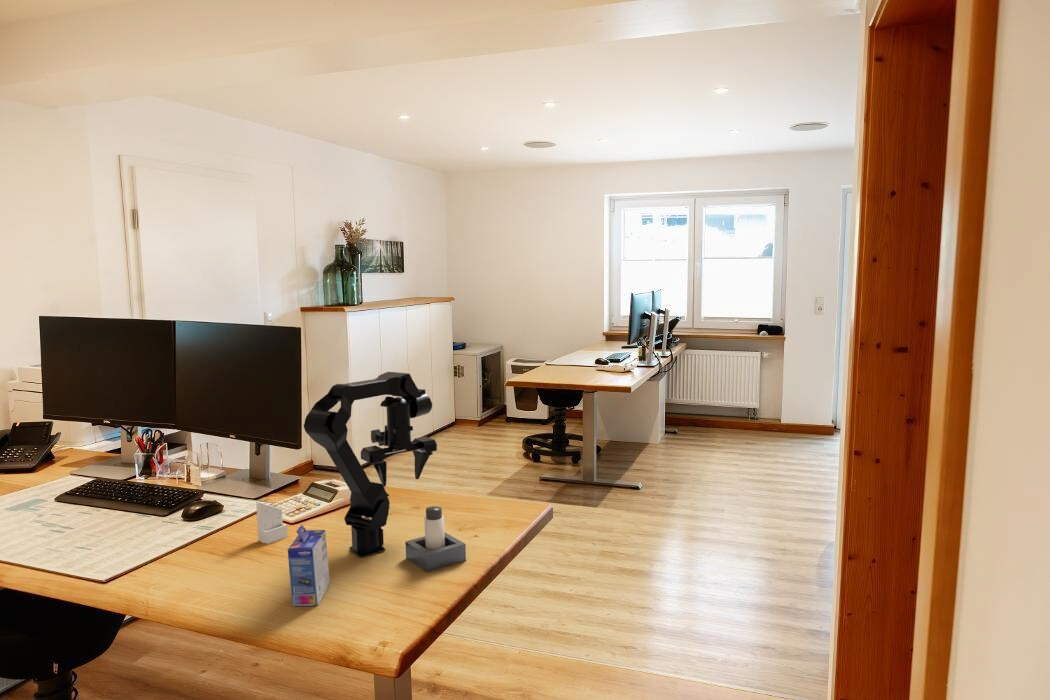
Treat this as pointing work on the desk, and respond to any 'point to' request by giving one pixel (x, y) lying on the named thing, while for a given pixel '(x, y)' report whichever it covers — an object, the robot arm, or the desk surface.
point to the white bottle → (434, 528)
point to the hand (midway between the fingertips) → (400, 482)
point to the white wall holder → (270, 523)
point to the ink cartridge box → (308, 567)
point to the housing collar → (435, 553)
